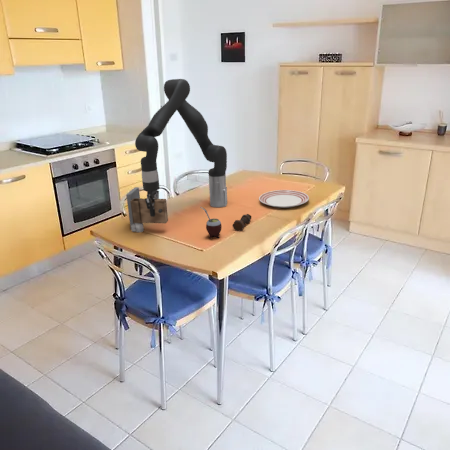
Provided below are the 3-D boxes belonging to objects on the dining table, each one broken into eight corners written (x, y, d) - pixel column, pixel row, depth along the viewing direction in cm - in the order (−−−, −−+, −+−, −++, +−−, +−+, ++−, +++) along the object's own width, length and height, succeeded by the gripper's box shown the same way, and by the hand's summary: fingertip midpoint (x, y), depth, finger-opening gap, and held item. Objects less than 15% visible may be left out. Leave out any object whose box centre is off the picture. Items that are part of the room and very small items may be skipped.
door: (168, 220, 206) (166, 198, 202) (165, 224, 201) (163, 202, 197) (136, 219, 208) (133, 198, 204) (132, 223, 204) (129, 201, 200)
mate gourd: (225, 236, 198) (223, 205, 192) (212, 241, 192) (211, 210, 187) (213, 232, 203) (212, 202, 197) (201, 237, 197) (199, 206, 192)
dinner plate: (293, 214, 222) (293, 208, 221) (249, 205, 238) (249, 199, 236) (317, 199, 242) (317, 194, 241) (275, 192, 258) (275, 187, 256)
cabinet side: (151, 221, 219) (148, 187, 213) (142, 232, 206) (138, 196, 199) (138, 221, 220) (134, 187, 214) (128, 232, 207) (124, 196, 200)
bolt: (250, 223, 216) (239, 233, 203) (242, 218, 217) (230, 227, 204) (255, 215, 213) (245, 224, 200) (247, 209, 214) (236, 218, 201)
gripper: (153, 184, 190) (157, 220, 196) (162, 175, 203) (166, 209, 209) (137, 183, 191) (141, 219, 198) (147, 175, 204) (151, 209, 211)
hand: (154, 214), depth 203 cm, fingers closed on door, 3 cm apart
